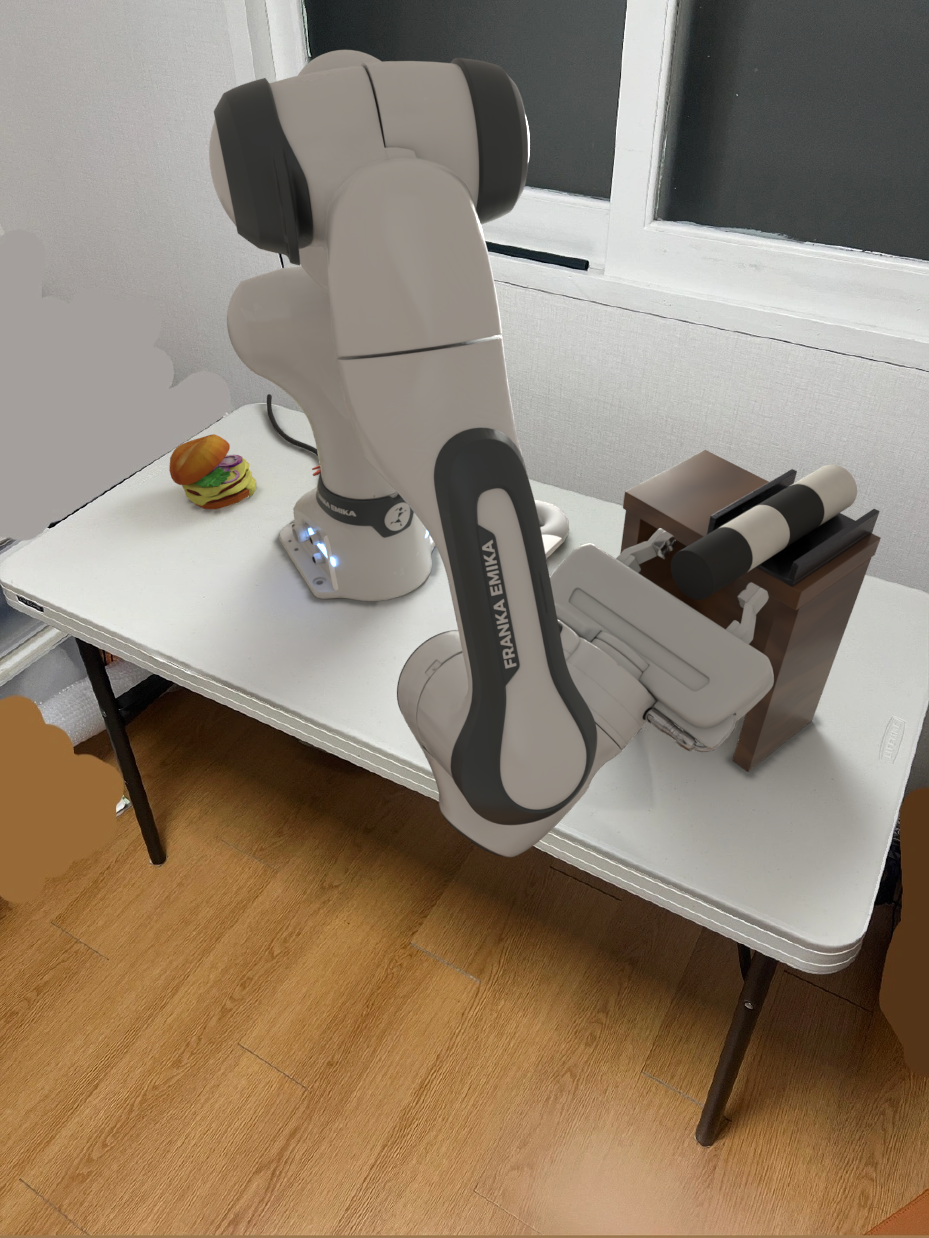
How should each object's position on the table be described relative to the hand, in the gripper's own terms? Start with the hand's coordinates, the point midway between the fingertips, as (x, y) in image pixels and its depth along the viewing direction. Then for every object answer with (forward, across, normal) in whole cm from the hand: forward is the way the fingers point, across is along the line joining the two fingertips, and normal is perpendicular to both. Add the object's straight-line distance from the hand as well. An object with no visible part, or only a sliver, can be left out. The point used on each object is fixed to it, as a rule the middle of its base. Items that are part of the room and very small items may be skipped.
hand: (713, 561), depth 73 cm
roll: (+5, 0, +6) cm, 8 cm away
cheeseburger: (-24, +75, +17) cm, 81 cm away
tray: (+8, 0, +8) cm, 12 cm away
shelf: (-4, +4, +29) cm, 29 cm away
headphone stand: (-10, +26, +25) cm, 38 cm away
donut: (0, +38, +31) cm, 50 cm away
